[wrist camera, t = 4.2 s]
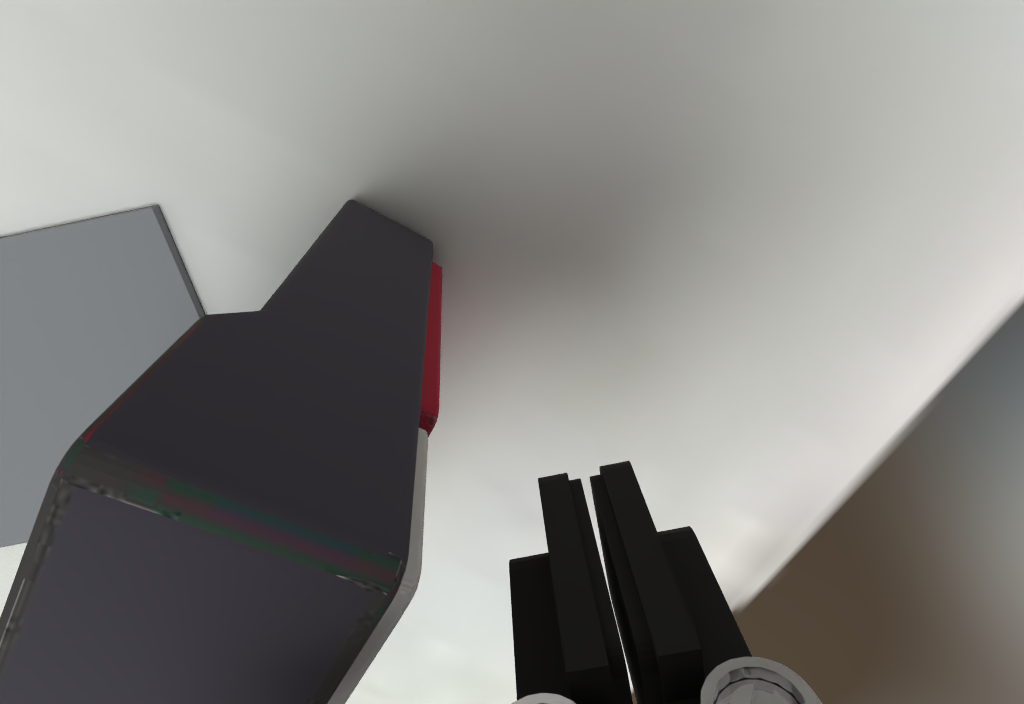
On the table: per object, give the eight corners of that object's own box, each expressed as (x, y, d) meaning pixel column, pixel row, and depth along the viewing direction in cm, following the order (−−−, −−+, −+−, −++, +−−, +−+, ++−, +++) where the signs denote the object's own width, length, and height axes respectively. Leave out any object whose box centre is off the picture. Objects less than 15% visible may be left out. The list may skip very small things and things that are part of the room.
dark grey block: (320, 498, 24) (151, 1068, 10) (207, 456, 23) (-156, 1036, 9) (456, 250, 20) (476, 601, 7) (332, 185, 19) (53, 451, 6)
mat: (157, 204, 19) (151, 207, 19) (279, 488, 24) (276, 495, 24) (-207, 280, 20) (-219, 284, 19) (-19, 545, 24) (-27, 552, 24)
